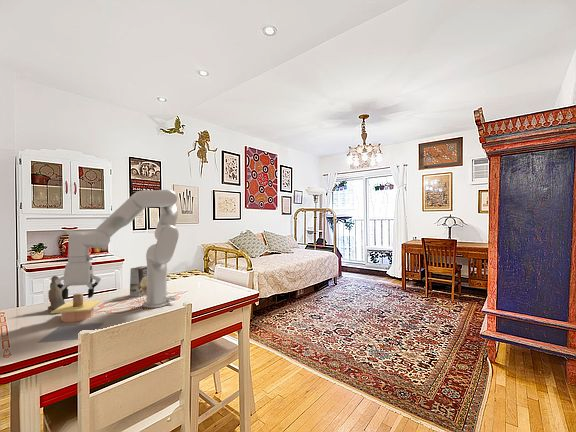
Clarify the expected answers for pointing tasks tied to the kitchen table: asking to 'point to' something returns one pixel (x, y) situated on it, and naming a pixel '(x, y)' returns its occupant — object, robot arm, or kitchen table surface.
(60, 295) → the worn brown figurine
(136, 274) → the coffee box
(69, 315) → the bowl
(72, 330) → the mat
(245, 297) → the kitchen table surface
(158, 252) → the robot arm
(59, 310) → the sheet
